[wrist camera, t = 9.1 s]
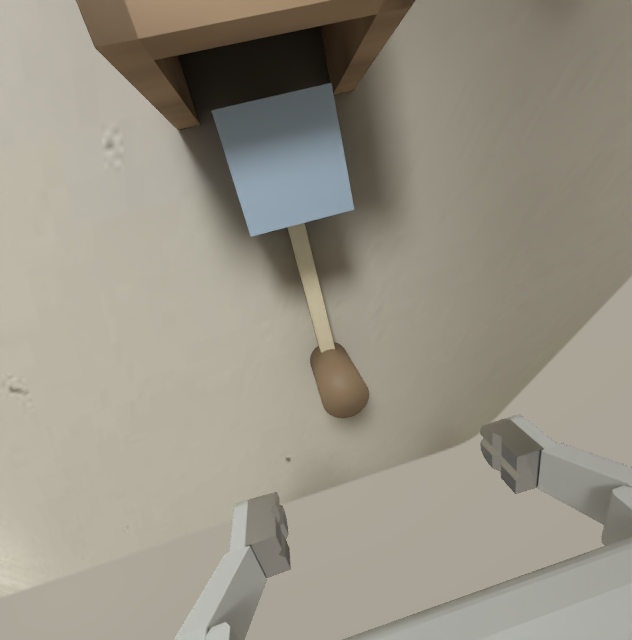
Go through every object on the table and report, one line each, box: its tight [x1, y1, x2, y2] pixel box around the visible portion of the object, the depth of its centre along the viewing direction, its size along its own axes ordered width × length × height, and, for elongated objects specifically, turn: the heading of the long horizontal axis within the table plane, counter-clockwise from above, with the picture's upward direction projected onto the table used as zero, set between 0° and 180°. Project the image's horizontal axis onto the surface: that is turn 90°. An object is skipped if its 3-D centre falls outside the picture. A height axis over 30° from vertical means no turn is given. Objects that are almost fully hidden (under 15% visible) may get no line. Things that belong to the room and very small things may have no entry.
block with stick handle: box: [211, 83, 369, 418], centre depth 17 cm, size 16×5×5 cm, turn 13°
